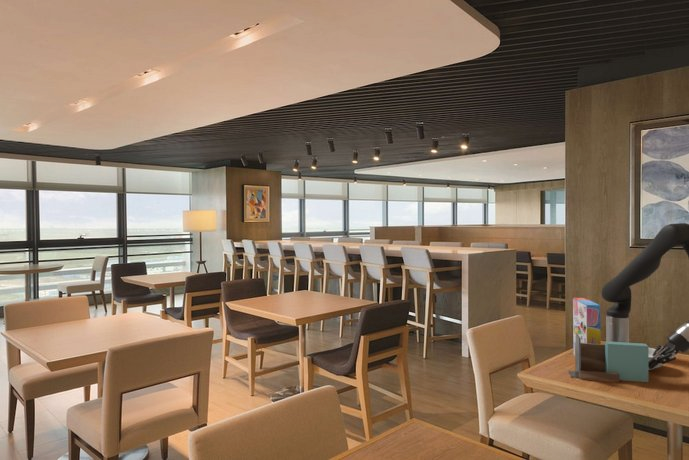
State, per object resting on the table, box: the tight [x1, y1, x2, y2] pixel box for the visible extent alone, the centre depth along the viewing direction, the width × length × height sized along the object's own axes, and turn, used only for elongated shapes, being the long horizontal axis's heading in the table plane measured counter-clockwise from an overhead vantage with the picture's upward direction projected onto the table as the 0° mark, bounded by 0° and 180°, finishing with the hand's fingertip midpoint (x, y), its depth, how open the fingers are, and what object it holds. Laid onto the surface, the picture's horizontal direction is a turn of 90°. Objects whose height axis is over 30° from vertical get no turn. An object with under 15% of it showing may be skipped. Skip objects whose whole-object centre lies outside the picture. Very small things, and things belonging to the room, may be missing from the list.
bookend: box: [567, 334, 581, 379], centre depth 187 cm, size 7×4×16 cm, turn 163°
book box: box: [604, 341, 649, 383], centre depth 181 cm, size 4×14×14 cm, turn 73°
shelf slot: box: [574, 343, 621, 383], centre depth 185 cm, size 10×14×12 cm
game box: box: [572, 297, 602, 357], centre depth 204 cm, size 21×6×27 cm, turn 168°
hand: (648, 367), depth 179 cm, fingers closed
